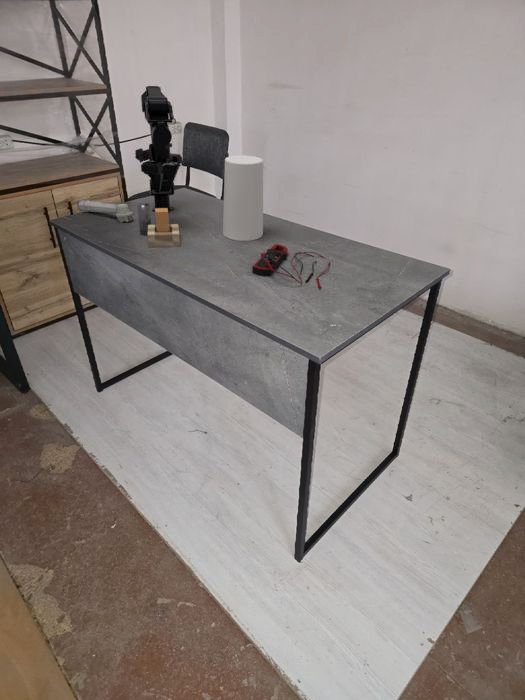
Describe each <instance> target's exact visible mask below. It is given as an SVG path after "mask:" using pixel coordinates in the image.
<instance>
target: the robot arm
mask: <svg viewBox="0 0 525 700" xmlns="http://www.w3.org/2000/svg"><path fill="white" fill-rule="evenodd" d="M140 101H141V112H142V113H143V114H144V119H145V121H146V122H147V124H148V125H149V131H150V137H151V139H150V140H151V143H150V144H149V145H148V149H144V150H143V148H137V149H136V150H135V151H134V152H135V153H134V154H135V159H136V160H138V162H139V163H141V164H140V171H141V172H142V173H143V174H144V175H147V177H149V190H150V191H149V192H150V196H151V197H153V196H154V199H153V200H154V208H152V209H151V211H152V212H155V208H168V213H169V212H170V211H172V210H174V209H175V208H174V206H171V201H170V196H174V194H175V183H174V182H175V180H176V177H177V175H178V171H179V169H180V167H181V165H182V163H183V156H182V155H181V154H179V153H171V148H172V147H173V143H171V142H172V139H173V138H172V137H173V136H172V132H171V130H170V128H169V124H170V123H171V124H172V123H173V120H174V117H175V116H174V113H173V112H174V110H173V105H172V104H171V101H169V100H168V97H166V95H164V94H163V92H162V88H161V86H158V85H147V86H145V91H144V92H143V93H142V94H141V96H140Z"/></svg>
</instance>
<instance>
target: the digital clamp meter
mask: <svg viewBox="0 0 525 700" xmlns="http://www.w3.org/2000/svg"><path fill="white" fill-rule="evenodd" d="M310 253H311V254H310ZM302 254H304V255H307V256H310V257H312V258H314V257H315V256H314V255H317V256H319V257H321V258H324V259H325V258H326V257H325V256H324V255H322V254H319V253H317V252H314V251H304V252H301V251H300V252H299V251H298V252H295V253H294V254H293V257H292V259H291V261H290V263H291V267H292V268H293V269H294V270H295V271H296V273H297V275H298V277H299V279H300V281H299V279H297V278H295V276H293V274H291V273H290V272H289V271H287V270H286V269H285V268H283V267H282V266H280V265H281V264H282V262H283V261H287V256H288V248H287V247H286V246H285V245H282V244H276V243H275V244H273V246H271V247H270V248H267V249H266V252H263V253H260V258H259V259H258V260H257V261H256V262H255V263H254V264H253V265H252V268H251V269H252V273H251V274H254V275H256V276H259V277H271V276H272V275H273V274H274V272H275V273H277V274H281V275H284V276H286V277H289V278H291V279H294V281H297V282H298V283H299V284H302V283H303V280H302V278H301V275H302V270H303V266H304V265H303V262H302V261H301V260H300V259H299V258H298V257H296V256H298V255H302ZM312 254H314V255H312ZM294 258H296V260H298V262H299V263H300V264H301V267H300V273H299V271H298V270H297V269H296V267H295V266H294V265H293V260H294ZM317 262H318V261H313V262H312V264H311V265H312V266H311V268H312V270H311V273H310V275H309V276H308V277H307V279H306V280H305V283H304V285H306V284H307V283H309V282H310V280H311V279H312V277H313V276H314V264H315V263H317ZM330 264H331V262H329V261H328V264H327V267H326V268H325V270H323V272H321V273H320V274H319V275H318V276H317V277H316V279H315V281H316V285H317V288H318V290H319V291H320V293H322V291H321V290H322V286H321V283H320V279H319V277H320V276H321V275H322V274H324V273H325V272H326V271H327V270H328V269H329V267H330ZM278 267H279V268H281V269H282V270H284V272H286V273H287V274H286V273H284V272H280V271H277V270H276V269H278Z"/></svg>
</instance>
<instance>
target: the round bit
mask: <svg viewBox="0 0 525 700" xmlns="http://www.w3.org/2000/svg"><path fill="white" fill-rule="evenodd" d="M136 206H137V207H136V208H137V215H138V227H139V233H140V236H143V235H144V237H146V236H147V237H148V225H152V220H151V219H152V218H151V209H150V203H148V202H139V203H137V204H136Z"/></svg>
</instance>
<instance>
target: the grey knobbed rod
mask: <svg viewBox="0 0 525 700" xmlns="http://www.w3.org/2000/svg"><path fill="white" fill-rule="evenodd" d="M76 206H77V209H78V210H79V211H81V212H86V213H91V212H93V213H109V214H115V216H116V218H117V221H118V222H120V223H124V222H126V223H128V222H131V221H133V211H130V208H129V205H128V204H127V203H121V204H120V203H119V204H115V203H109V202H108V203H107V202H99V201H91V200H89V199H86V200H79V201H78V202H77V205H76ZM89 211H90V212H89Z"/></svg>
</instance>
